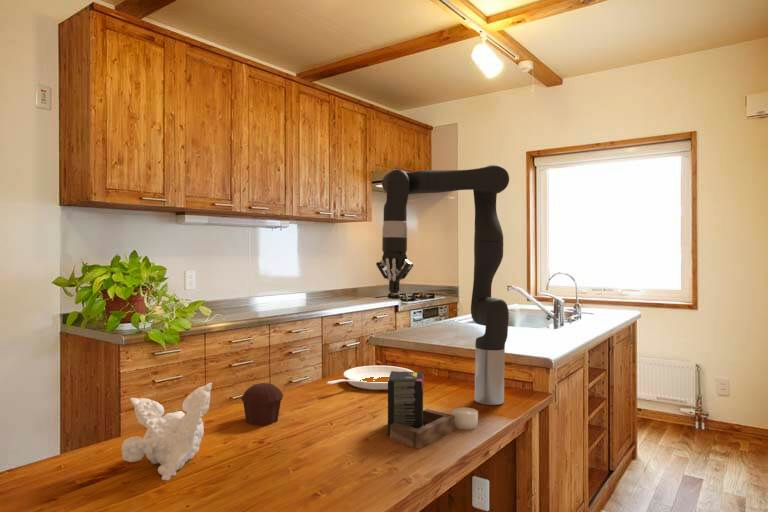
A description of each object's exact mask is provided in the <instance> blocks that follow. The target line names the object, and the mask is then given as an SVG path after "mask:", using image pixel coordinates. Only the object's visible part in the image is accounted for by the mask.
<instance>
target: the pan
mask: <svg viewBox="0 0 768 512" xmlns="http://www.w3.org/2000/svg"><path fill="white" fill-rule="evenodd" d="M391 371H397V372H414V371H413V370H411V369H410V368H409V369H408V368H404V367H402V366H401V367H399V366H393V365H364V366H357V367H353V368H349V369H347V370H345V371H344V372H343V377H345V378H346V379H343V378H342V379H336V380H329V381H326V385H333V384H338V383H342V382H347V383H348V384H349V385H350V386H352V387H354V388H356V387H357V388H358V389H360V388H361V389H360V390H366V389H367V391H378V390H384V391H388V382H367V381H363V380H362V379H365V378H370V377H374V378H373V379H377V378H379V377H380V378H381V377H389V376H390V373H391ZM360 380H361V381H360ZM373 381H375V380H373ZM357 388H356V389H357Z"/></svg>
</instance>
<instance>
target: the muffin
mask: <svg viewBox="0 0 768 512" xmlns="http://www.w3.org/2000/svg"><path fill="white" fill-rule="evenodd" d="M283 397H284V394H283V392H282V390H281V389H280V388H279V387H277V386H276V385H274V384H272V383H268V382H262V383H261V382H260V383H256V384H254V385H251V386H250V387H248V388H247V389H246V390H245V391H244V393H243V395H242V396H241V397H240V400H241V401H242V403H243V410H244V417H245V422H246V423H247V424H249V425H252V426H267V425H272V424H274V423H276V422H278V421H279V414H280V408H281V403H282V400H283Z"/></svg>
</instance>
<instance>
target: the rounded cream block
mask: <svg viewBox="0 0 768 512" xmlns="http://www.w3.org/2000/svg"><path fill="white" fill-rule="evenodd" d="M451 415H455V429H458V428H459V429H458V430H464V429H465V430H466V431H469V430H475V429H477V428H478V426H479V411H478V410H477V409H475V408H472V407H471V408H470V407H466V406H465V407H464V406H463V407H455V408H453V409H452V414H451ZM467 429H468V430H467Z"/></svg>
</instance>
